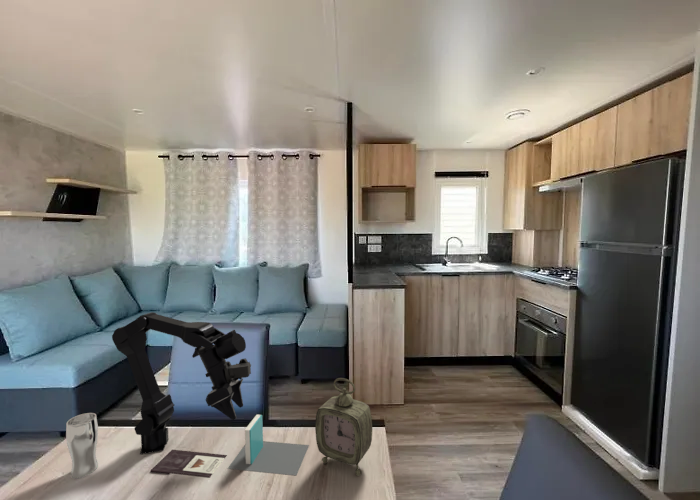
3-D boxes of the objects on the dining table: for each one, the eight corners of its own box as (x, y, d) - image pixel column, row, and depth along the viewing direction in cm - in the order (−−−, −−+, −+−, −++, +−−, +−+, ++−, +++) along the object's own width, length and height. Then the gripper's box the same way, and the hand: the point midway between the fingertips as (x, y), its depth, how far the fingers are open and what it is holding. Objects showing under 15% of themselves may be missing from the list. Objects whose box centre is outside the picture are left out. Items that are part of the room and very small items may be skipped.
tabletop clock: (315, 465, 96) (314, 379, 94) (332, 446, 104) (330, 367, 102) (361, 482, 89) (360, 390, 88) (375, 461, 97) (374, 376, 96)
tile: (245, 463, 96) (244, 429, 95) (257, 445, 104) (256, 414, 103) (251, 464, 96) (250, 430, 95) (263, 446, 104) (262, 415, 103)
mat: (227, 469, 94) (227, 468, 94) (248, 441, 107) (248, 439, 107) (296, 476, 91) (296, 475, 91) (309, 446, 104) (309, 445, 104)
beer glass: (73, 466, 96) (70, 415, 95) (103, 459, 99) (100, 410, 98) (64, 483, 90) (61, 428, 89) (96, 475, 93) (92, 422, 92)
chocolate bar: (172, 449, 103) (226, 455, 100) (172, 452, 103) (227, 458, 100) (150, 470, 94) (209, 477, 91) (150, 473, 94) (209, 480, 91)
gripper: (233, 358, 91) (258, 411, 90) (247, 345, 109) (268, 389, 109) (194, 378, 89) (219, 432, 89) (214, 361, 108) (235, 406, 107)
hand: (238, 412), depth 98 cm, fingers open, 9 cm apart
